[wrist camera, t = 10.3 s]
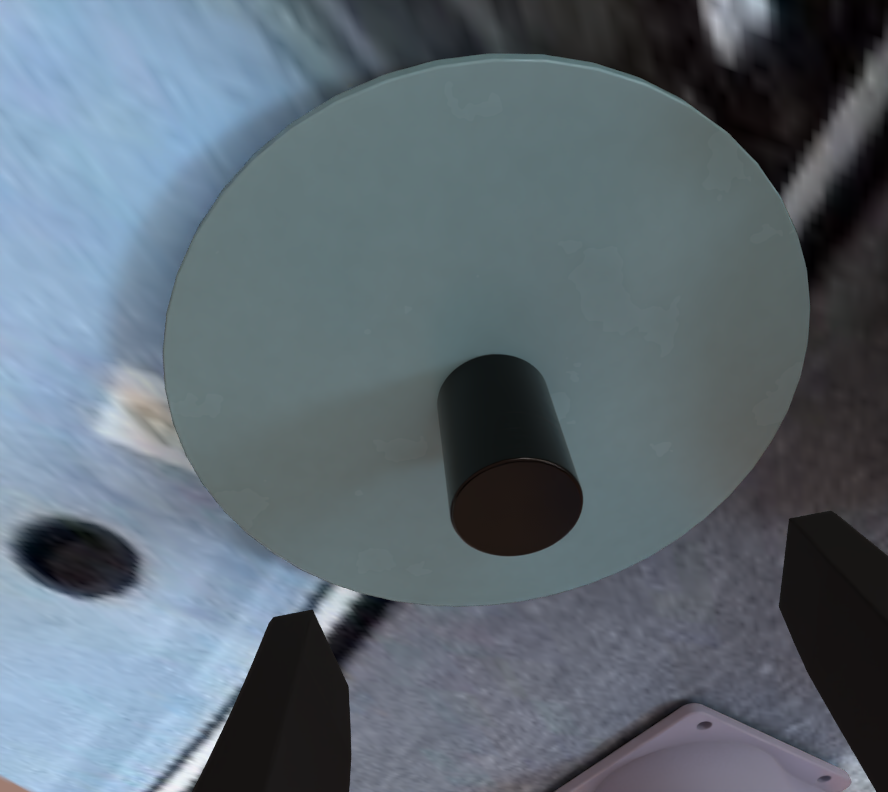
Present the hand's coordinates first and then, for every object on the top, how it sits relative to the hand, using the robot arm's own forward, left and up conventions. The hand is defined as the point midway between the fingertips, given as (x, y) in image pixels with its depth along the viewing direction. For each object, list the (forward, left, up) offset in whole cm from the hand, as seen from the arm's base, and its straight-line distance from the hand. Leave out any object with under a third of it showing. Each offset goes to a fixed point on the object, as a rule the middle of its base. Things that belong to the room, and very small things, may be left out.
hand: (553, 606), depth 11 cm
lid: (0, 0, -6) cm, 6 cm away
